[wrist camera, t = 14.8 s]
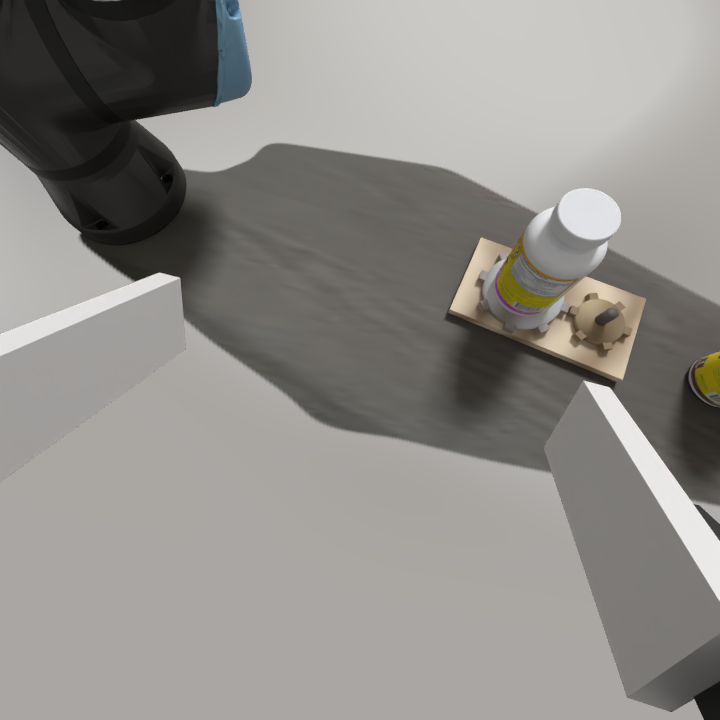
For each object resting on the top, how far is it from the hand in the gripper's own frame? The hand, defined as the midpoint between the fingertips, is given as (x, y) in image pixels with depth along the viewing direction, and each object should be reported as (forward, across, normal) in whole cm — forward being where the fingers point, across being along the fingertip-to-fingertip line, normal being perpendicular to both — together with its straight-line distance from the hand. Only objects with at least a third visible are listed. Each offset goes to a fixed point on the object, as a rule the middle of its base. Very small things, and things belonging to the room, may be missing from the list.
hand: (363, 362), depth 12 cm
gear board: (+32, +16, -6) cm, 36 cm away
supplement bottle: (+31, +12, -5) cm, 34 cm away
